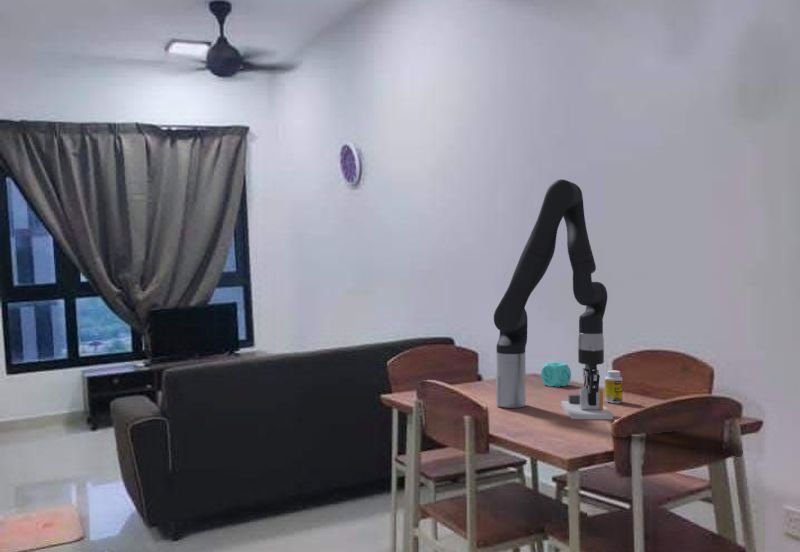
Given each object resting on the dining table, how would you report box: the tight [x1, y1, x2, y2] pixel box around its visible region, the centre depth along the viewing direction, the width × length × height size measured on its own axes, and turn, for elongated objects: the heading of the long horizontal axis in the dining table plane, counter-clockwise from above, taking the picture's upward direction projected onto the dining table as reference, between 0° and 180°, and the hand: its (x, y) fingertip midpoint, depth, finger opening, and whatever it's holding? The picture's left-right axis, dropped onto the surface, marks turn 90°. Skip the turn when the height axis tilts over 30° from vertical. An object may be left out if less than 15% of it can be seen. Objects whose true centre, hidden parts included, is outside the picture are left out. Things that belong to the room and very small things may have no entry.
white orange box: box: [579, 387, 604, 410], centre depth 226 cm, size 6×3×6 cm, turn 87°
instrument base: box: [560, 394, 614, 420], centre depth 230 cm, size 12×20×5 cm, turn 177°
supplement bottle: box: [604, 369, 623, 404], centre depth 245 cm, size 6×6×10 cm
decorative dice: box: [540, 361, 572, 388], centre depth 278 cm, size 8×8×8 cm
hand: (591, 403), depth 227 cm, fingers open, 3 cm apart
